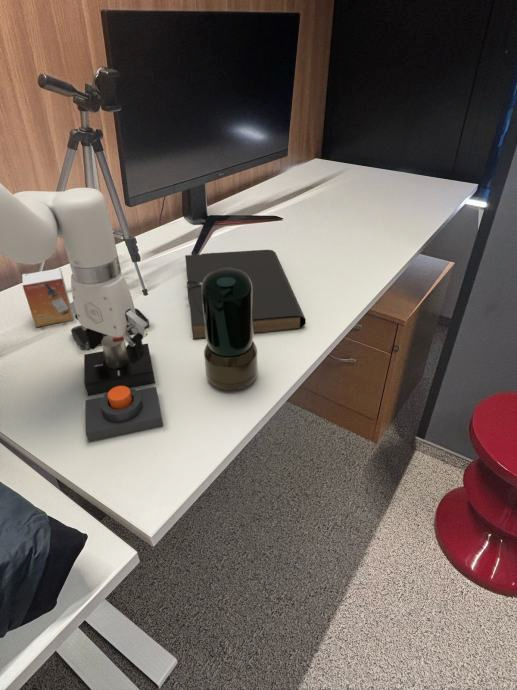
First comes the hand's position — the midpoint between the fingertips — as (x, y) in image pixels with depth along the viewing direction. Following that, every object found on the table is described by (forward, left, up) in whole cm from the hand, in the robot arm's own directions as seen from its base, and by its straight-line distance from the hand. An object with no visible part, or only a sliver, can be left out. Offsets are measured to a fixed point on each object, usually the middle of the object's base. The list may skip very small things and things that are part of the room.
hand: (116, 352), depth 88 cm
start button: (0, -12, -2) cm, 12 cm away
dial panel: (0, 0, -5) cm, 5 cm away
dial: (0, 0, -2) cm, 2 cm away
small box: (-13, +25, -6) cm, 29 cm away
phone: (-1, +16, -5) cm, 17 cm away
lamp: (+20, -7, -6) cm, 22 cm away
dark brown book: (+29, +22, -6) cm, 37 cm away
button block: (0, -12, -5) cm, 13 cm away
